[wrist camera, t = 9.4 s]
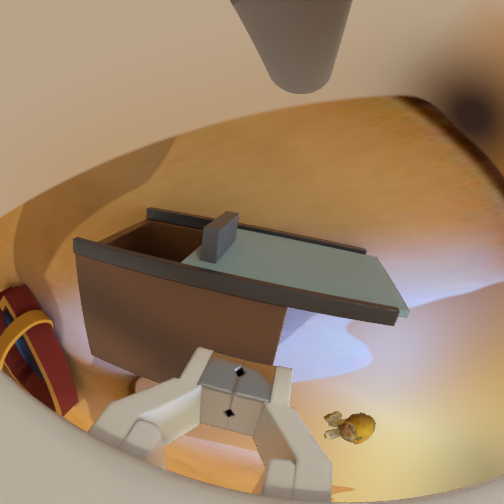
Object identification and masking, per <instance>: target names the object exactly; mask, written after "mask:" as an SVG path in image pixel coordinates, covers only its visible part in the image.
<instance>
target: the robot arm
mask: <svg viewBox="0 0 504 504" xmlns="http://www.w3.org/2000/svg"><path fill="white" fill-rule="evenodd" d="M292 374H293V370H292V368H286V367H281V366H274V365H269V364H264V363H260V362H255V361H251V360H246V359H242V358H239V357H235V356H231V355H228V354H224V353H221V352H217V351H213V350H210V349H206V348H203V347H200V346H199V347H198V348H197V349H196V350H195V352H194V353H193V355H192V357H191V359H190V360H189V362H188V364H187V365H186V367H185V369H184V371H183V372H182V374H181V376H180V377H179V379H178V378H172V379H169V380H167V381H165V382H162V383H160V384H157V385H155V386H152V387H150V388H147V389H145V390H143V391H140V392H137V393H135V394H132V395H130V396H127V397H124V398H122V399H119V400H116V401H114V402H111V403H109V405H108V406H107V407H106V408H105V410H104V411H103V412H102V414H101V415H100V416H99V418H98V419H97V420H96V422H95V423H94V424H93V425H92V427H91V428H90V429H89V431H88V432H86V431H84V430H82V429H81V428H79V427H77V426H76V425H74V424H73V423H71V422H69V421H68V420H66V419H65V418H63V417H62V416H60V415H59V414H57V413H56V412H54V411H53V410H51V409H50V408H48V407H47V406H46V405H44V404H43V403H42V402H40V401H39V400H37V399H36V398H35V397H33V396H32V395H31V394H30V393H28V392H27V391H26V390H25V389H23V388H22V387H21V386H20V385H18V384H17V383H16V382H15V381H14V380H12V379H11V378H10V377H9V376H8V375H7V374H6V373H4V372H3V371H2V370H1V369H0V504H504V475H501V476H498V477H495V478H493V479H490V480H487V481H484V482H480V483H477V484H474V485H471V486H467V487H463V488H460V489H456V490H451V491H447V492H443V493H438V494H433V495H427V496H422V497H415V498H408V499H400V500H392V501H378V502H357V503H356V502H354V503H338V502H337V503H336V502H331V488H332V463H331V461H330V460H329V459H328V457H327V456H326V454H325V453H324V451H323V450H322V449H321V447H320V446H319V445H318V443H317V441H316V440H315V439H314V437H313V436H312V434H311V433H310V431H309V430H308V428H307V427H306V425H305V424H304V422H303V421H302V420H301V418H300V417H299V415H298V414H297V412H296V411H295V409H294V408H293V407H289V400H290V391H291V383H292ZM199 423H203V424H206V425H210V426H214V427H218V428H222V429H226V430H230V431H233V432H237V433H241V434H244V435H249V436H253V440H254V442H255V444H256V447H257V449H258V452H259V454H260V457H261V459H262V461H263V464H264V466H265V469H264V471H263V473H262V475H261V477H260V479H259V481H258V482H257V484H256V486H255V488H254V490H253V492H252V493H247V492H242V491H237V490H233V489H229V488H225V487H221V486H217V485H213V484H209V483H206V482H202V481H199V480H196V479H192V478H189V477H186V476H183V475H180V474H177V473H175V472H172V471H169V470H166V468H167V466H166V461H165V455H164V450H163V447H165V446H166V445H168V444H169V443H171V442H173V441H174V440H176V439H177V438H179V437H181V436H182V435H184V434H185V433H187V432H188V431H190V430H191V429H193V428H194V427H196V426H197V425H199Z"/></svg>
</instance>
